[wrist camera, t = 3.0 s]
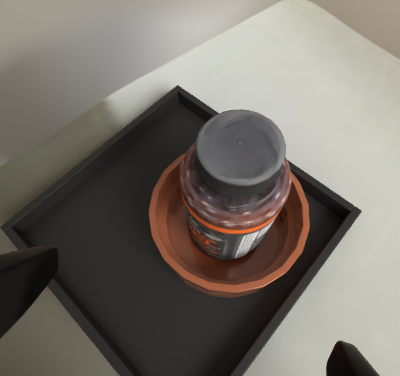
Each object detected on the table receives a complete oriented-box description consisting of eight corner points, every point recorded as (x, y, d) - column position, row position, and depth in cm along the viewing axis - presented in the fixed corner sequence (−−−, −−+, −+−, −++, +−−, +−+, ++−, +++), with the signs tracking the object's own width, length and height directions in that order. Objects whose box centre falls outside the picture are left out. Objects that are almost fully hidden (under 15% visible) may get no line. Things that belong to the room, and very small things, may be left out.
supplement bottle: (172, 224, 23) (143, 140, 13) (224, 178, 25) (236, 71, 14) (226, 280, 21) (243, 235, 11) (279, 226, 23) (337, 141, 12)
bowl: (320, 222, 23) (340, 202, 19) (234, 332, 20) (240, 333, 16) (218, 147, 26) (220, 119, 23) (131, 231, 23) (116, 213, 19)
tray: (352, 218, 23) (362, 210, 21) (186, 445, 17) (184, 456, 16) (179, 97, 29) (177, 84, 28) (13, 233, 23) (-1, 226, 22)
